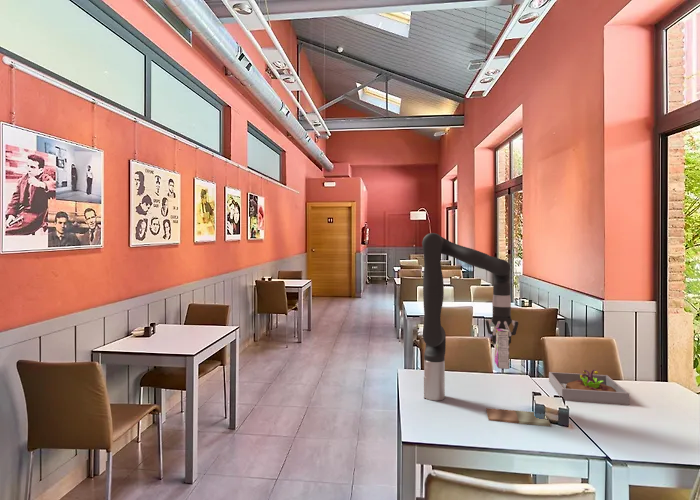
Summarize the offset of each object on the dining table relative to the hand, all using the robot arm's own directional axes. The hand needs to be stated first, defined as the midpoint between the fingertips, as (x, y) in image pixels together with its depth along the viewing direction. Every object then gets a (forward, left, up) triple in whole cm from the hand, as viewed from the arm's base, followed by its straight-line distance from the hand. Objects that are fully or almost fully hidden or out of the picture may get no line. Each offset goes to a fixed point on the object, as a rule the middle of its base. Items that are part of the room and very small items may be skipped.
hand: (501, 343), depth 185 cm
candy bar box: (0, 0, -10) cm, 10 cm away
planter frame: (+41, +27, -27) cm, 56 cm away
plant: (+44, +30, -28) cm, 60 cm away
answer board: (+5, -12, -27) cm, 30 cm away
